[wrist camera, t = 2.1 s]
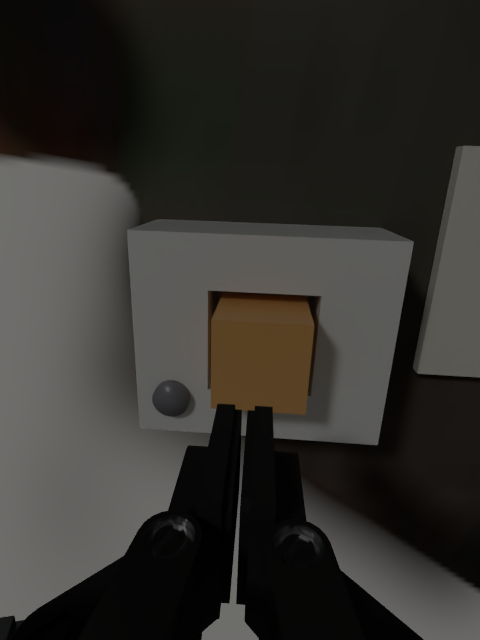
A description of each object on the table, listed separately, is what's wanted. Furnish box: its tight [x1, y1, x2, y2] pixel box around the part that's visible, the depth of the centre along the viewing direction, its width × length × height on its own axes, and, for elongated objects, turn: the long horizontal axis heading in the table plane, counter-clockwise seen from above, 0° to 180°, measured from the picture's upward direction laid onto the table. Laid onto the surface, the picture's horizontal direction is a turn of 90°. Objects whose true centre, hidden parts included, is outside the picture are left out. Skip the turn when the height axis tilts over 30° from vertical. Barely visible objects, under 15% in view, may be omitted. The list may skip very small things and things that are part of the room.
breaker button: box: [211, 291, 315, 415], centre depth 18 cm, size 4×4×4 cm
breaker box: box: [127, 219, 414, 445], centre depth 20 cm, size 12×10×5 cm
